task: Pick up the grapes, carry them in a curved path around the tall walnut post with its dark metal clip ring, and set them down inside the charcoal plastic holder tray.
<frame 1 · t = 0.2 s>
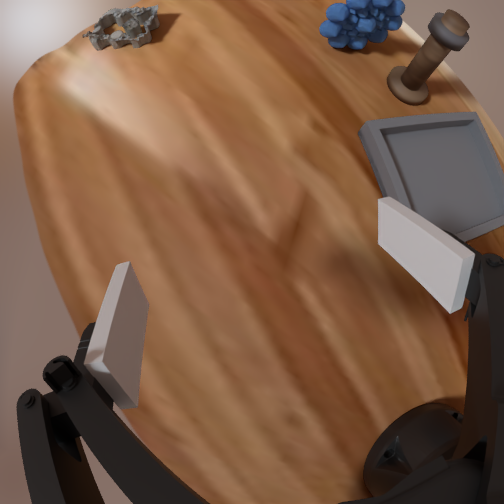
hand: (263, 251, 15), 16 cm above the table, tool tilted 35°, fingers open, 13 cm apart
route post: (405, 88, 34), on the table
grapes: (349, 44, 35), on the table
egg carton: (126, 35, 35), on the table
holder tray: (443, 180, 33), on the table
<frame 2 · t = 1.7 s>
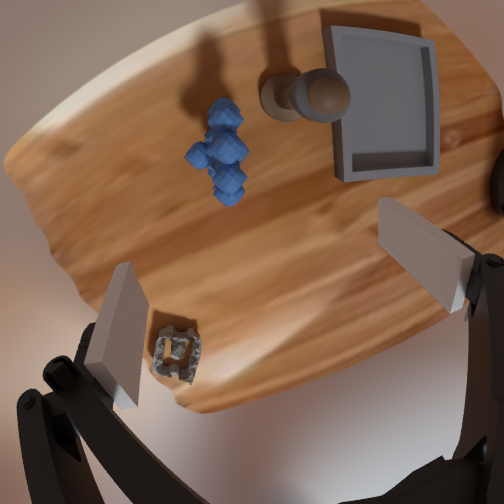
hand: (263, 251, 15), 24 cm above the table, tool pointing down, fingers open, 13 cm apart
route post: (284, 97, 34), on the table
grapes: (215, 145, 36), on the table
egg carton: (176, 346, 50), on the table
holder tray: (383, 102, 35), on the table
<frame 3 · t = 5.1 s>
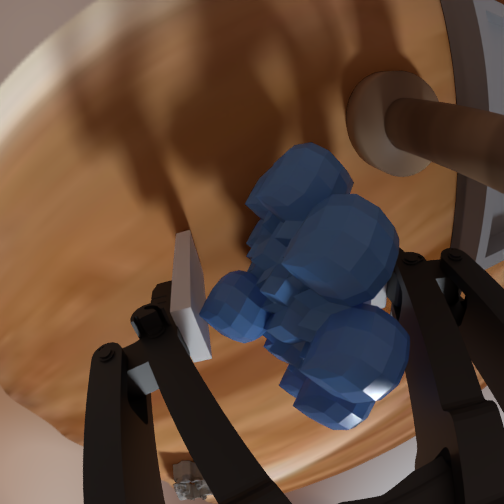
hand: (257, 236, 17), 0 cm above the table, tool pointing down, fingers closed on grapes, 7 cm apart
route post: (390, 121, 15), on the table
grapes: (254, 232, 17), on the table, touching gripper
egg carton: (202, 470, 32), on the table
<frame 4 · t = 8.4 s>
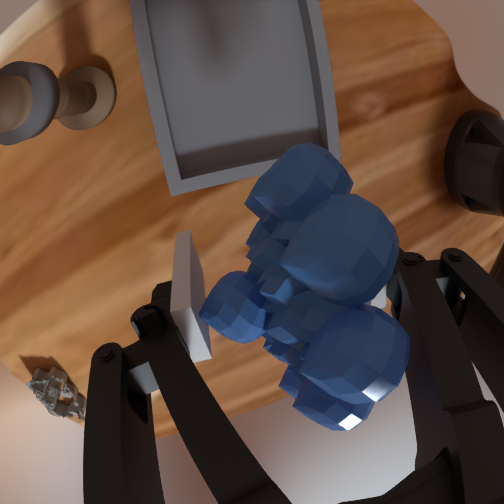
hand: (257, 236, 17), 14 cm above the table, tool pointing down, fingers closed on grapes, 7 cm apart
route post: (86, 97, 23), on the table
grapes: (254, 232, 17), point 14 cm above the table, touching gripper
egg carton: (60, 386, 39), on the table
holder tray: (235, 68, 24), on the table
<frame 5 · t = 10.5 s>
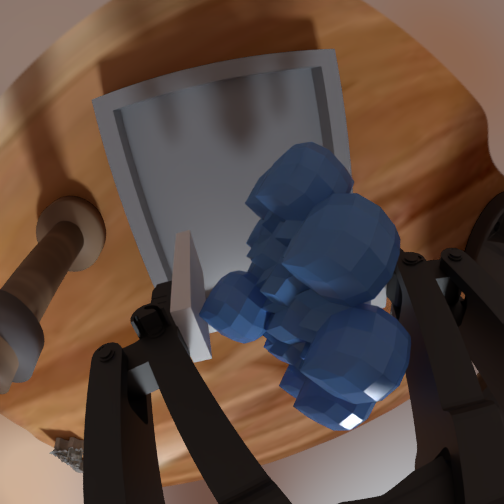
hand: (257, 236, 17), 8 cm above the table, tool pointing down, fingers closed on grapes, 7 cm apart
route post: (73, 230, 22), on the table
grapes: (254, 231, 17), point 7 cm above the table, touching gripper
egg carton: (82, 449, 39), on the table
holder tray: (239, 195, 23), on the table
when the fingers open (4 cm above the table, at t = 12.0 s): grapes drops 2 cm, resting on holder tray.
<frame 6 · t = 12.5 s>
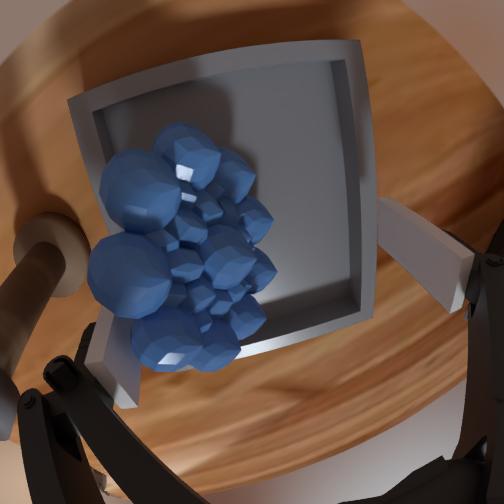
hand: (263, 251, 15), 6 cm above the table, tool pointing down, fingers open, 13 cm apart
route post: (54, 251, 19), on the table
grapes: (244, 217, 19), point 1 cm above the table, touching gripper, holder tray
egg carton: (78, 466, 36), on the table
holder tray: (245, 211, 20), on the table
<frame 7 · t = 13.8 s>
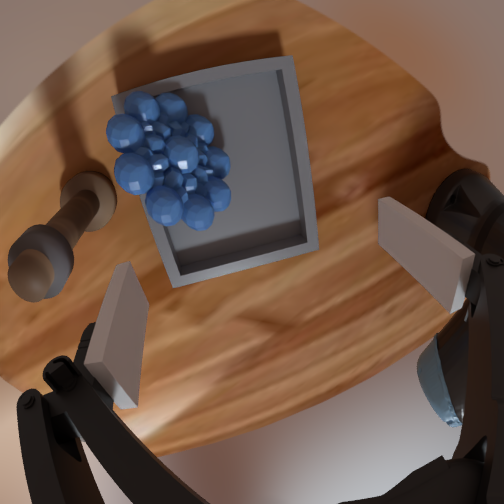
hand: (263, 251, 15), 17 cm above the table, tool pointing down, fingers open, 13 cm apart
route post: (90, 199, 28), on the table
grapes: (221, 172, 28), point 2 cm above the table, touching holder tray
holder tray: (222, 169, 30), on the table
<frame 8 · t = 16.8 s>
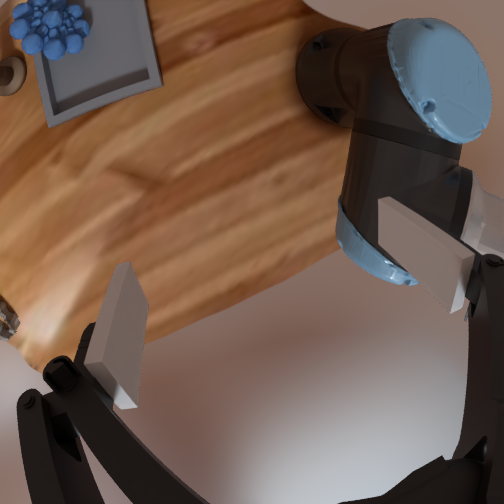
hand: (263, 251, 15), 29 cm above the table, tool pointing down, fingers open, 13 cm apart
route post: (11, 76, 28), on the table
grapes: (88, 38, 27), point 2 cm above the table, touching holder tray
holder tray: (93, 40, 29), on the table
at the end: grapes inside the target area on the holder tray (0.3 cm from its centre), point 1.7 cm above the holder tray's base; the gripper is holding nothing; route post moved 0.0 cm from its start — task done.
